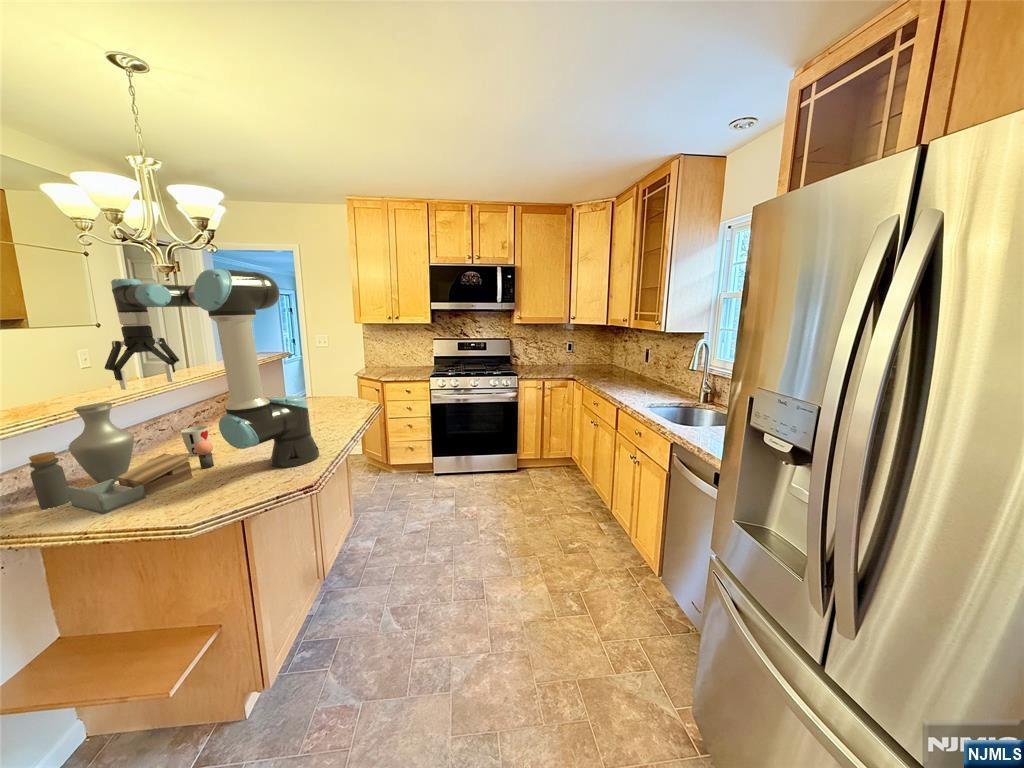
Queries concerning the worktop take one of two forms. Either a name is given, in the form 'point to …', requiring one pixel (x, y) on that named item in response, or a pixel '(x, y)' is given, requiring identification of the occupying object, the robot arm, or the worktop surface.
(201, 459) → the tee
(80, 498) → the bin
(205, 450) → the ball
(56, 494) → the bottle
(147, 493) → the ramp
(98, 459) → the vase
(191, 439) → the cup
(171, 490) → the worktop surface
